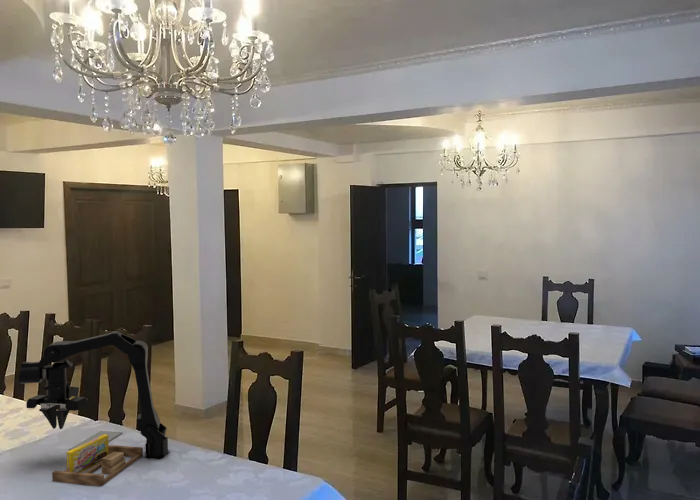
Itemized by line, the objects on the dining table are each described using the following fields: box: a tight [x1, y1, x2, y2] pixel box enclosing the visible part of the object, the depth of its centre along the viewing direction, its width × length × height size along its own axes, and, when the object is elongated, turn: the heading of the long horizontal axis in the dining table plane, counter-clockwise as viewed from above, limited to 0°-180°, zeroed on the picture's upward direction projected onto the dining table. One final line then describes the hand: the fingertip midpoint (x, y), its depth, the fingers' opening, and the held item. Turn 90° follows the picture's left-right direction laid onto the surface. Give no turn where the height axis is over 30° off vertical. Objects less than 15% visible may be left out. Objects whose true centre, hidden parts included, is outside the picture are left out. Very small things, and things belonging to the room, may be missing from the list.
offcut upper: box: [101, 452, 125, 468], centre depth 179 cm, size 4×6×2 cm, turn 165°
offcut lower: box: [101, 458, 126, 475], centre depth 179 cm, size 4×7×2 cm, turn 172°
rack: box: [51, 444, 144, 487], centre depth 180 cm, size 17×22×3 cm
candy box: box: [66, 434, 109, 473], centre depth 181 cm, size 16×2×8 cm, turn 162°
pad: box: [68, 430, 123, 451], centre depth 203 cm, size 9×18×1 cm, turn 169°
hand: (58, 428), depth 183 cm, fingers closed
